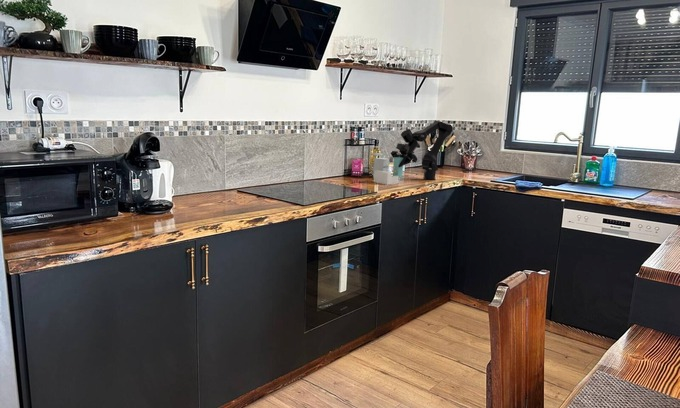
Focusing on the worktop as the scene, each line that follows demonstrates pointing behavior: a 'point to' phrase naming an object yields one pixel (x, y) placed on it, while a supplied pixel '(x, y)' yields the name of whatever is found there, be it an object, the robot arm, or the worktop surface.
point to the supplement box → (381, 164)
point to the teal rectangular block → (397, 170)
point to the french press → (375, 155)
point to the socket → (385, 177)
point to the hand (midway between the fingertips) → (396, 166)
